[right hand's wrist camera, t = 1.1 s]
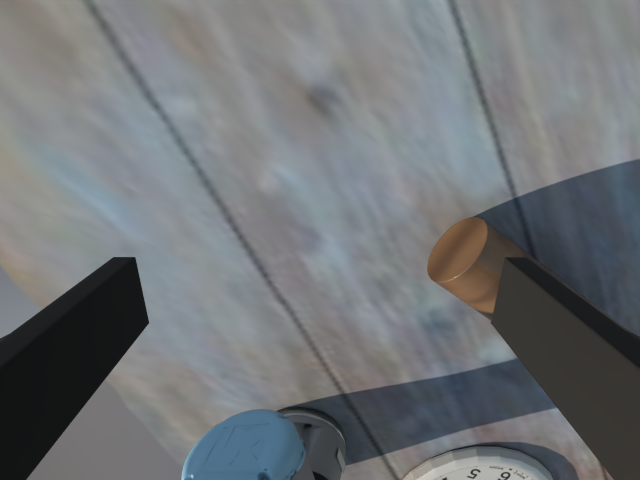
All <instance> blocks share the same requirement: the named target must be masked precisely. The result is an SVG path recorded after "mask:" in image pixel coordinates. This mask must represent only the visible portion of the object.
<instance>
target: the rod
mask: <svg viewBox="0 0 640 480" xmlns="http://www.w3.org/2000/svg"><path fill="white" fill-rule="evenodd" d="M505 257H527V258H528V259H529V260H531V261H532V262H533V263H535V264H536V265H538V266H539V267H540V268H542V269H543V270H544V271H546V272H547V273H548V274H550V275H551V276H552V277H554V278H555V279H557V280H558V281H559V282H561V283H562V284H563V285H565V286H566V287H567V288H569V289H570V290H571V291H573V292H574V293H575V294H577V295H578V296H580V297H581V298H582V299H584V300H585V301H586V302H588V303H589V304H590V305H592V306H593V307H594V308H596V309H597V310H598V311H600V312H601V313H603V314H604V315H605V316H607V317H608V318H609V319H611V320H612V321H613V322H615V323H616V324H617V325H619V326H620V327H621V328H623V329H624V330H626V331H628V330H627V329H625V328H624V327H623V326H622V325H620V324H619V323H618V322H616V321H615V320H614V319H612V318H611V317H610V316H608V315H607V314H606V313H605V312H603V311H602V310H601V309H599V308H598V307H597V306H595V305H594V304H593V303H592V302H590V301H589V300H588V299H586V298H585V297H584V296H582V295H581V294H580V293H578V292H577V291H576V290H575V289H573V288H572V287H571V286H569V285H568V284H567V283H565V282H564V281H563V280H562V279H560V278H559V277H558V276H556V275H555V274H554V273H552V272H551V271H550V270H548V269H547V268H546V267H545V266H543V265H542V264H541V263H539V262H538V261H537V260H535V259H534V258H533V257H532V256H530V255H529V254H528V253H526V252H525V251H524V250H522V249H521V248H520V247H518V246H517V245H516V244H515V243H513V242H512V241H511V240H509V239H508V238H507V237H505V236H504V235H503V234H501V233H500V232H499V231H498V230H496V229H495V228H494V227H492V226H491V225H490V224H488V223H487V222H486V221H485V220H483V219H481V218H478V217H471V218H467V219H464V220H462V221H460V222H458V223H457V224H455V225H454V226H453V227H451V228H450V229H449V230H448V231H447V232H446V233H445V234H444V235H443V236H442V237H441V238H440V240H439V241H438V242H437V244H436V245H435V247H434V249H433V250H432V253H431V255H430V258H429V261H428V268H427V270H428V275H429V277H430V278H431V279H432V280H433V281H434V282H436V283H437V284H439V285H440V286H442V287H443V288H445V289H446V290H447V291H449V292H450V293H452V294H453V295H455V296H456V297H458V298H459V299H461V300H462V301H464V302H465V303H466V304H468V305H469V306H471V307H472V308H474V309H475V310H477V311H478V312H480V313H481V314H482V315H484V316H485V317H487V318H488V319H490V320H492V316H493V311H494V306H495V301H496V297H497V292H498V287H499V282H500V278H501V273H502V268H503V263H504V259H505Z"/></svg>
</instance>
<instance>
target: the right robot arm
mask: <svg viewBox="0 0 640 480" xmlns="http://www.w3.org/2000/svg"><path fill="white" fill-rule="evenodd" d="M148 324H149V320H148V316H147V311H146V306H145V301H144V297H143V292H142V287H141V282H140V278H139V273H138V268H137V263H136V259H135V257H113V258H112V259H111V260H109V261H108V262H107V263H105V264H104V265H102V266H101V267H100V268H98V269H97V270H96V271H94V272H93V273H92V274H90V275H89V276H88V277H86V278H85V279H83V280H82V281H81V282H79V283H78V284H77V285H75V286H74V287H73V288H71V289H70V290H69V291H67V292H66V293H65V294H63V295H62V296H60V297H59V298H58V299H56V300H55V301H54V302H52V303H51V304H50V305H48V306H47V307H46V308H44V309H43V310H42V311H40V312H39V313H38V314H36V315H35V316H33V317H32V318H31V319H29V320H28V321H27V322H25V323H24V324H23V325H21V326H20V327H19V328H17V329H16V330H14V331H13V332H12V333H10V334H8V335H6V336H4V337H2V338H0V480H26V479H27V478H28V477H29V475H30V474H31V473H32V472H33V470H34V469H35V468H36V466H37V465H38V464H39V463H40V461H41V460H42V459H43V458H44V456H45V455H46V454H47V452H48V451H49V450H50V448H51V447H52V446H53V445H54V443H55V442H56V441H57V440H58V438H59V437H60V436H61V435H62V433H63V432H64V431H65V429H66V428H67V427H68V426H69V424H70V423H71V422H72V421H73V419H74V418H75V417H76V415H77V414H78V413H79V412H80V410H81V409H82V408H83V406H84V405H85V404H86V403H87V401H88V400H89V399H90V398H91V396H92V395H93V394H94V392H95V391H96V390H97V389H98V387H99V386H100V385H101V383H102V382H103V381H104V380H105V378H106V377H107V376H108V375H109V373H110V372H111V371H112V369H113V368H114V367H115V366H116V364H117V363H118V362H119V361H120V359H121V358H122V357H123V355H124V354H125V353H126V352H127V350H128V349H129V348H130V347H131V345H132V344H133V343H134V341H135V340H136V339H137V338H138V336H139V335H140V334H141V333H142V331H143V330H144V329H145V327H146V326H147V325H148ZM491 324H492V325H493V326H494V327H495V329H496V330H497V331H498V333H499V334H500V335H501V336H502V338H503V339H504V340H505V341H506V343H507V344H508V345H509V347H510V348H511V349H512V350H513V352H514V353H515V354H516V355H517V357H518V358H519V359H520V361H521V362H522V363H523V364H524V366H525V367H526V368H527V369H528V371H529V372H530V373H531V375H532V376H533V377H534V378H535V380H536V381H537V382H538V384H539V385H540V386H541V387H542V389H543V390H544V391H545V392H546V394H547V395H548V396H549V398H550V399H551V400H552V401H553V403H554V404H555V405H556V406H557V408H558V409H559V410H560V412H561V413H562V414H563V415H564V417H565V418H566V419H567V421H568V422H569V423H570V424H571V426H572V427H573V428H574V429H575V431H576V432H577V433H578V435H579V436H580V437H581V438H582V440H583V441H584V442H585V443H586V445H587V446H588V447H589V449H590V450H591V451H592V452H593V454H594V455H595V456H596V458H597V459H598V460H599V461H600V463H601V464H602V465H603V466H604V468H605V469H606V470H607V472H608V473H609V474H610V475H611V477H612V478H613V479H614V480H640V337H639V336H637V335H635V334H633V333H631V332H629V331H626V330H624V329H623V328H621V327H620V326H619V325H617V324H616V323H615V322H613V321H612V320H611V319H609V318H608V317H607V316H605V315H604V314H603V313H601V312H600V311H598V310H597V309H596V308H594V307H593V306H592V305H590V304H589V303H588V302H586V301H585V300H584V299H582V298H581V297H580V296H578V295H577V294H575V293H574V292H573V291H571V290H570V289H569V288H567V287H566V286H565V285H563V284H562V283H561V282H559V281H558V280H557V279H555V278H554V277H552V276H551V275H550V274H548V273H547V272H546V271H544V270H543V269H542V268H540V267H539V266H538V265H536V264H535V263H533V262H532V261H531V260H529V259H528V258H527V257H505V259H504V263H503V268H502V273H501V278H500V282H499V287H498V292H497V297H496V301H495V306H494V311H493V316H492V320H491Z"/></svg>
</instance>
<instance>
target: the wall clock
mask: <svg viewBox="0 0 640 480" xmlns="http://www.w3.org/2000/svg"><path fill="white" fill-rule="evenodd" d="M403 480H553V478H552V476H551V473H550V472H549V471H548V470H547V469H546V468H545V467H544V466H543V465H542V464H541V463H540V462H539V461H538V460H537V459H534V458H532V457H530V456H528V455H526V454H524V453H522V452H520V451H516V450H512V449H507V448H502V447H476V446H475V447H469V448H464V449H458V450H453V451H449V452H447V453H444V454H442V455H439V456H436V457H434V458H431V459H429V460H427V461H426V462H424V463H423V464H421V465H419V466H418V467H416V468H415V469H413V470H412V471H410V472H409V473H408V474H407V475H406V477H405V478H404V479H403Z"/></svg>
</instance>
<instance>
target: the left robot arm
mask: <svg viewBox="0 0 640 480" xmlns="http://www.w3.org/2000/svg"><path fill="white" fill-rule="evenodd" d="M345 456H346V444H345V436H344V433H343V431H342V429H341V427H340V426H339V425H338V423H337V422H336V421H335V420H334V419H332V418H331V417H329V416H328V415H326V414H324V413H322V412H320V411H317V410H313V409H308V408H288V409H283V410H279V411H272V410H266V409H258V410H250V411H246V412H242V413H239V414H237V415H234V416H232V417H230V418H228V419H226V420H225V421H224V422H222V423H220V424H218V425H216V426H215V427H213V428H212V429H211V430H209V431H208V432H207V433H206V434H205V435H204V436H203V437H202V438H201V439H200V440H199V441H198V442H197V443H196V445H195V446H194V447H193V449H192V450H191V452H190V453H189V455H188V457H187V459H186V461H185V464H184V467H183V471H182V480H340V477H341V473H342V471H343V474H344V471H345V466H346V465H345Z"/></svg>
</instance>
